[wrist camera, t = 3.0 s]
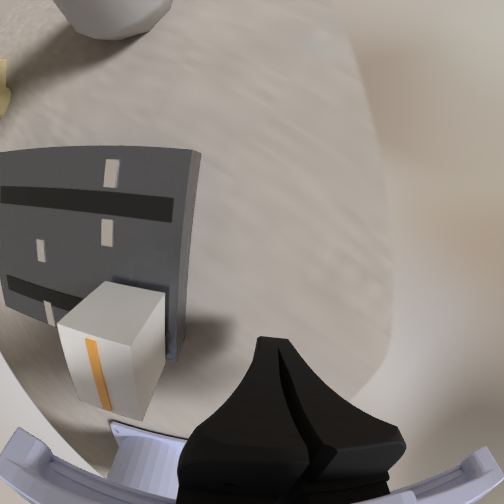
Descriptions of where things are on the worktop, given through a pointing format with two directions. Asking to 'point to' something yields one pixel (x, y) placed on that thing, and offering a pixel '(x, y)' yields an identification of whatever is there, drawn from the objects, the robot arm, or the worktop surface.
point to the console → (96, 227)
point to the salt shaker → (113, 16)
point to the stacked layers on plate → (3, 89)
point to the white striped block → (116, 347)
